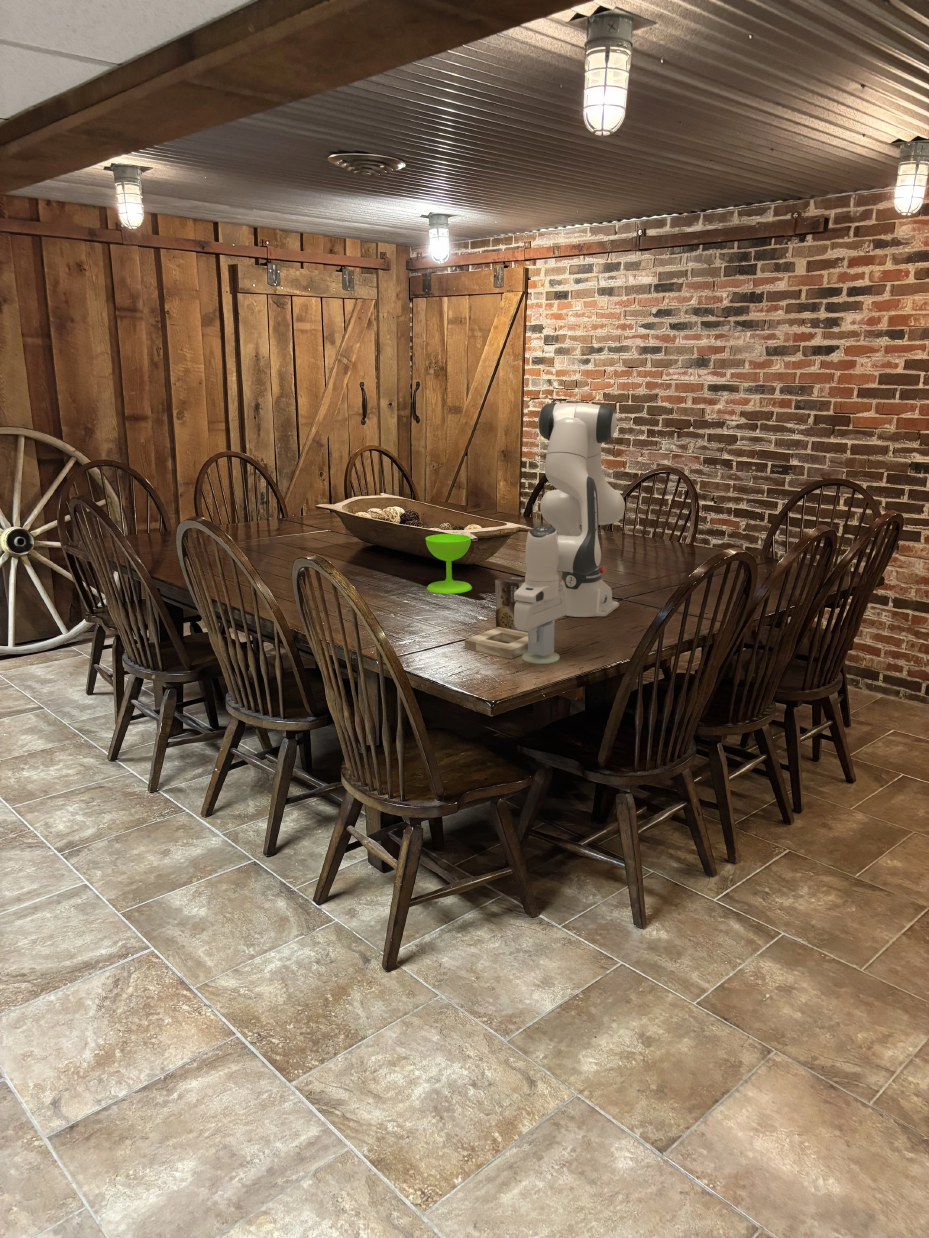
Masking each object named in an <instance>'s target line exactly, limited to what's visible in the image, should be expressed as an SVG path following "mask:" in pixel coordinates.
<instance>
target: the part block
mask: <svg viewBox="0 0 929 1238" xmlns="http://www.w3.org/2000/svg"><path fill="white" fill-rule="evenodd" d="M536 634H537V635H539V641H538V642H536V643H532V642H531V641H530V635H529V632H528V653H532V654H536V655H541V656H545V655H547V654H549V653H552V652H554V653H555V624H554V623H553V622H548V623H545V624H543V625H541V626H538V627H537V631H536Z"/></svg>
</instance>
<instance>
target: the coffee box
mask: <svg viewBox="0 0 929 1238" xmlns="http://www.w3.org/2000/svg"><path fill="white" fill-rule="evenodd" d="M524 582H525V577H520V576H519V577H518V576H511V575H507V576H502V577H500V578H497V579H494V583H495V584H494V585H495V588H494V589H495V591H494V592H495V628H497V627H501V628H506V629H511V630H516V631H521V632H526V633H528V631H522V630H517V629H516V627H515V624H514V607H515V603H516V601H518V600H514V593H515V591H517V590H518V589H519V588H520V587H521V586H522V584H523V583H524Z"/></svg>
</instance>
